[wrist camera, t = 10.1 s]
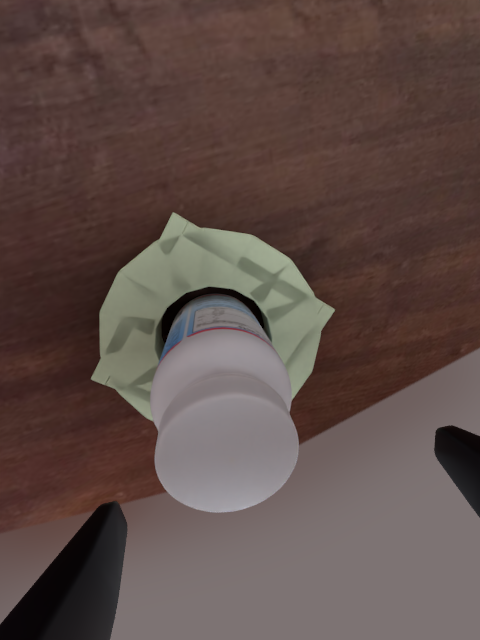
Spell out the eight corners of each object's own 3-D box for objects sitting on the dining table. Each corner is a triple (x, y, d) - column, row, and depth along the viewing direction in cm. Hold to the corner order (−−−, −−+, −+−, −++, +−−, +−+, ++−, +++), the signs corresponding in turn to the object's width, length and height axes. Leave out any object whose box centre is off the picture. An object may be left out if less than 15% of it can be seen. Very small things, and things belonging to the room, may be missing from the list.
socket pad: (342, 293, 19) (360, 302, 17) (246, 435, 22) (250, 459, 20) (168, 185, 16) (162, 177, 14) (81, 367, 19) (63, 387, 16)
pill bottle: (206, 387, 20) (207, 556, 10) (153, 324, 18) (81, 451, 8) (274, 342, 20) (352, 469, 9) (227, 272, 18) (256, 333, 7)
